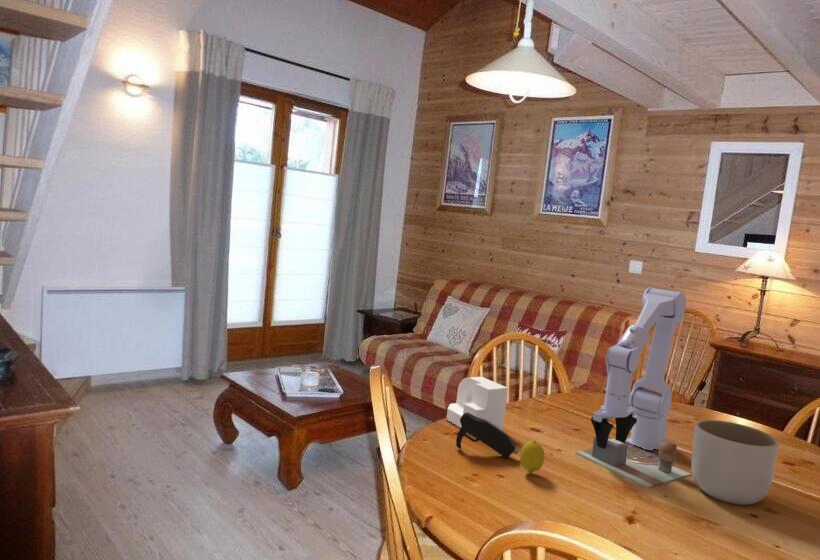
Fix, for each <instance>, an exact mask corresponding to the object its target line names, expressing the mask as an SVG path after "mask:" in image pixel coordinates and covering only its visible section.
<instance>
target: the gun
mask: <svg viewBox="0 0 820 560" xmlns="http://www.w3.org/2000/svg"><path fill="white" fill-rule="evenodd" d="M460 423H461V426H462V427H461V428H459V430H458V432H457V434H456V440H455V445H456V447H457V448H458V449H459V450H462V440H463V438H464V437H465V438H466V439H468V440H470V441H471V442H474V443H477V442H479V441H480V442H482V443H483V444H484V445H486V446H488V447H489V448H490V449H492V450H494V451H495V452H496V453H498V454H499V455H501V456H502V457H504V458H510V456H511V455H512V454H515V455H517V454H518V453H519V450H518V449H517V448H516V445H515V442H514V440H512V438H511V437H510V436H509V434H507V432H506V431H504V429H503V430H501V429H500V428H498V427H497V426H495V425H494V424H492V423H491V422H488V421H486V420H484V419H481V418H478V417H476V416H474V415H472V414H470V413H464V414H463V415H462V417H461V418H460ZM467 433H468V434H467ZM471 436H472V437H473V438H472V437H471ZM474 437H475V439H474Z"/></svg>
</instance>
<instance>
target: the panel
mask: <svg viewBox="0 0 820 560" xmlns="http://www.w3.org/2000/svg"><path fill="white" fill-rule="evenodd" d="M592 450H593V448H589V449H584V450H579V451H576V453H575V454H576V455H577V456H579V457H582V458H584V459H586V460H588V461H590V462H592V463H595V464H596V465H598V466H600V467H603V468H604V469H606V470H608V471H611V472H613V473H615V474H617V475H619V476H621V477H622V478H625V479H628V480H630V481H631V482H634V483H636V484H638V485H640V486H641V487H643V488H646V489H649V488H652V487H655V486H656V487H657V486H660V485H663V484H666V483H670V482H672V481H673V482H674V481H675V480H679V479H682V478H685V477H688V476H691V475H692V473H690V472H687V471H686V470H682V469H681V468H678V467H676V466H673V465H672V470H671V473H664V472H661V471H659V470H658V467H659V465H658V466H655V465H644V464H643V465H642V464H636V463H632V462H630V461H628V460H626V464H624V465H620V466H616V467H614V466H612V465H609V464H607V463H605V462H603V461H601V460H599V459H597V458H595V457H593V456H592Z"/></svg>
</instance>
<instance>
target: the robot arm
mask: <svg viewBox="0 0 820 560" xmlns="http://www.w3.org/2000/svg"><path fill="white" fill-rule="evenodd" d="M641 304H642V310H641V312H640V313H639V316H638V317H637V319H636V322H635V323H634V324H633V325H630V326H628V327H627V329H626V330H625V332H624V333H623V335H622V336H621V338H620V339H619V341H618V343H617V344H615V345H611V346H610V347H609V349H608V350H607V352H606V356H605V364H606V373H607V380H606V381H607V382H606V389H605V394H604V395H605V396H604V403H603V404H604V405H600V409H599V410H597V411H594V412H593V416H591V417H590V422H591V424H592V426H593V429H594V432H595V433H594V434H595V437H596V441H597V446H598V447H600V448H602V449H605V448H606V446H607V442H608V437H610V434H611V431H612V429H613V428H614V427H615V440H618V441H620V442H622V443H625V444H629V445H632V446H634V445H636V446H635V447H637V446H639V447H642V448H645V449H656V450H659V448H660V441H666V438H667V431H668V420H667V416H668V415H669V414H670V412H671V411H670V410H671V408H672V395H673V394H672V393H673V391H672V389H671V388H669V386H668V385H667V384H666V383H665V381H664V379H665V375H666V371H667V366H668V361H669V357H670V352H671V347H672V341H673V337H674V333H675V329H676V325H677V324H679V323H682V322H683V319H684V316H685V311H686V306H687V298H686V295H685V293H684V292H683V291H674V290H665V289H660V288H654V287H652V286H651V287H647V288H646V289H645V290H644V293H643V295H642V303H641ZM654 325H655V326H654ZM653 326H654V332H653V336H652V342H651V346H650V351H649V356H648V361H647V363H646V364H647V365H646V369H645V375H644V377H643V378H641V379H639V380H637V381H635V382H634V384H633V387H632V383H633V382H632V381H633V375H634V372H635V371H636V370H637V368H638V366H639V362H640V360H641V356H642V354H641V352H642V350H643V349H644V347H645V346H646V345H647V343H648V341H649V340H650V335H649V331H650V330H651V329H652V327H653ZM631 389H632V390H631ZM652 390H653V391H652ZM629 405H630V406H629ZM612 419H615V420H614V421H615V425H614V424H612V423H610V422H609V420H612ZM630 432H631V434H630ZM629 434H630V437H629V438H628V436H629ZM639 447H638V448H639Z"/></svg>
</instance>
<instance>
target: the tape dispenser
mask: <svg viewBox="0 0 820 560" xmlns="http://www.w3.org/2000/svg"><path fill="white" fill-rule="evenodd" d="M508 389H509V387H506V386H505V385H502V384H499V383H498V382H495V381H493V380H490V379H488V378H486V377H483V376H471V377H465V378H463V379H462V380H461V381H460V382H459V385H458V387H457V393H456V401H455V403H454V402H453V403H450V404H449V405H448V407H447V412H446V421H447V420H448V422H449V421H450V422H449V423H451V422H452V423H451V424H452V425H454V424H455V426H456V427H458V428H459V429H461V427H462V426H461V423H460V418H461V417H462V415H463V414H464V413H470V414H472V415H474V416H476V417H478V418H481V419H484V420H486V421H488V422H491V423H492V424H494V425H495V426H497V427H498V428H500V429H501V430H503V431H504V424H505V423H504V422H505V415H506V407H507V399H508ZM447 418H448V419H447Z"/></svg>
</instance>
